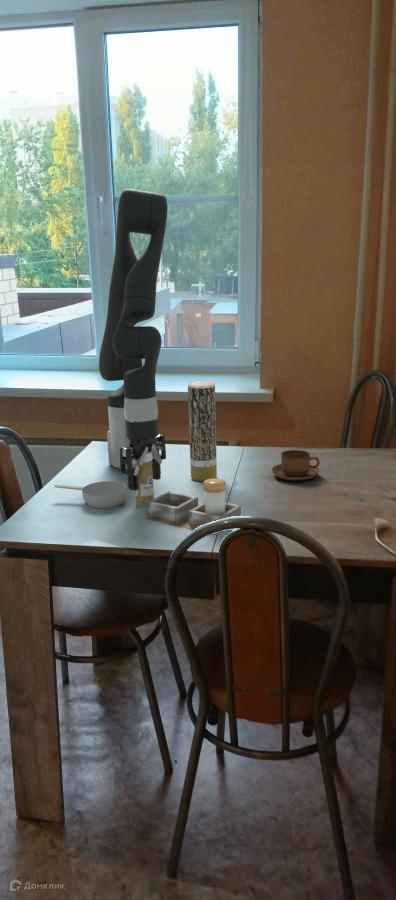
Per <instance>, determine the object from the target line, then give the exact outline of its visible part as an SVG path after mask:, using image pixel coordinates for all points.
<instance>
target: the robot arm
mask: <svg viewBox="0 0 396 900" xmlns="http://www.w3.org/2000/svg"><path fill="white" fill-rule="evenodd" d="M168 208H169V207H168V199H167V198H166V196H165V195H164V194H162V193H158V192H154V191H153V192H152V191H145V190H139V189H135V188H134V189H133V188H132V189H131V188H125V189H123V190H122V192H121V193H120V196H119V199H118V206H117V218H116V234H115V247H114V248H115V249H114V258H113V265H112V266H113V267H112V272H111V278H110V284H109V291H108V303H107V304H108V305H107V312H106V320H105V321H106V322H105V327H104V332H103V335H102V336H103V337H102V341H101V346H100V350H99V357H98V358H99V359H98V369H99V374H100V376H101V378H102V379H103V380H104V381H107V382H118V381H123V384H122V385H121V386H120V387H119V388H117V389H115V390H114V391H112V392H110V393H109V394H108V395H107V410H108V411H107V412H108V423H109V425H108V426H109V430H108V431H107V432H106V437H107V438H106V440H107V452H108V453H107V454H108V456H107V457H108V465H110V466H112V467H113V468H115V469H119V470H120V474H122V475H123V474H124V475H127V488H128V489H129V490H130V491H134V492H135V491H137V490H138V489H139V486H138V475H137V473H138V470H139V467H140V466H142V464H143V461H144V458H145V455H146V454H147V453H148V452H152V457H153V459H152V472H153V480H154V481H155V480H156V481H159V480H160V479H161V477H162V475H161V474H162V471H161V467H162V466H161V464H162V462H163V460H166V459H167V451H166V450H167V448H166V439H165V435H163V434H160V429H159V426H160V425H159V408H158V406H159V405H158V401H157V389H156V373H157V365H158V360H159V357H160V353H161V349H162V335H161V333H160V331H159V330H158V329H157V328H156V327H155V326H149V325H146V326H145V325H143V326H142V325H140V326H135V325H137V324H138V323H141V322H145V321H147V320H151V319H152V318H153V317H154V315H155V313H156V302H157V301H156V299H157V282H158V274H159V268H160V264H161V258H162V252H163V247H164V241H165V235H166V227H167V220H168V211H169V209H168ZM130 233H134V234H142V235H147V236H150V239H149V243H148V244H147V247H146V249H145V250H144V252H142V254H141V256H140V257H139V258H138V257H137V256H136V254H135V251H134V248H133V245H132V241H131V236H130ZM143 359H144V363H143ZM133 459H136V460H138V461H133ZM134 465H135V467H134Z"/></svg>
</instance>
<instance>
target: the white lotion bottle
mask: <svg viewBox="0 0 396 900" xmlns="http://www.w3.org/2000/svg"><path fill="white" fill-rule="evenodd" d="M203 490H204V495H203V497H204V502H205V513H207V514H212V515H216V516H221V515H223V514H225V503H226V480H224V479H222V478H217V477H216V478H213V479H207V480H205V481H204V482H203Z"/></svg>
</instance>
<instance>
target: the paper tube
mask: <svg viewBox="0 0 396 900" xmlns="http://www.w3.org/2000/svg"><path fill="white" fill-rule="evenodd" d="M215 383H216V382H214V381H208V380H207V381H206V380H205V381H203V380H202V381H199V380H198V381H191V382H188V384H187V396H188V397H187V400H188V403H187V405H188V431H189V432H188V433H189V458H190V459H189V462H190V463H189V464H190V478H191V479H192V480H193V481H195V482H203V483H204V481H205V480H207V479H213V478H217V475H218V474H217V473H218V471H217V469H218V468H217V463H218V462H217V461H218V460H217V458H218V457H217V419H216V417H217V416H216V413H217V412H216V385H215Z"/></svg>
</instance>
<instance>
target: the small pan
mask: <svg viewBox="0 0 396 900" xmlns="http://www.w3.org/2000/svg"><path fill="white" fill-rule="evenodd" d="M54 488H56V489H67V490H77V491H81V494H82V498H83V500H84V502H85V503H86V504H87V505H88V506H89V507H91V508H96V509H108V508H114V507H118V506H120V505H121V504H123V502H124V501H125V499H126V497H127V495H128V484H127V485H126V483H124V482H121V481H115V480H114V481H112V480H106V481H98V482H97V481H96V482H91V483H89V484H87V485H85V486H76V485H67V484H58V483H57V484H54Z"/></svg>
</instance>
